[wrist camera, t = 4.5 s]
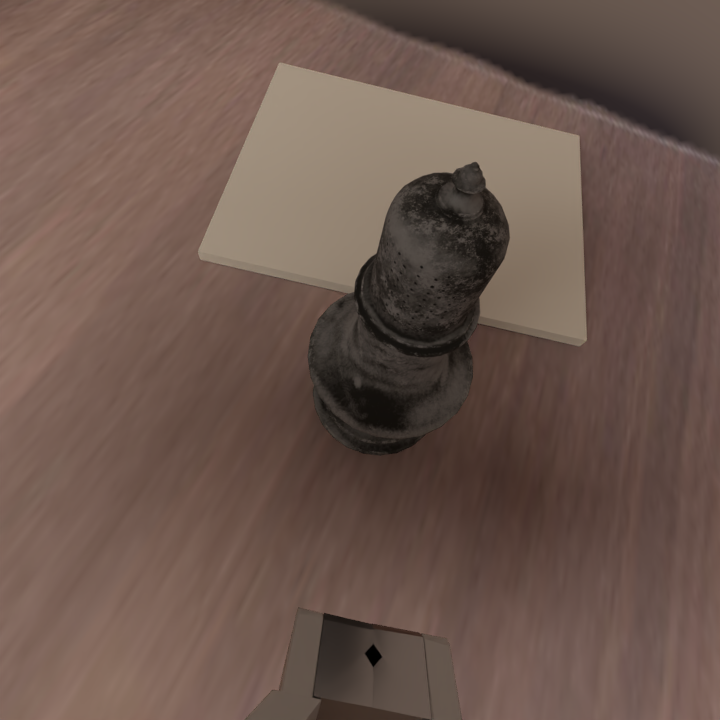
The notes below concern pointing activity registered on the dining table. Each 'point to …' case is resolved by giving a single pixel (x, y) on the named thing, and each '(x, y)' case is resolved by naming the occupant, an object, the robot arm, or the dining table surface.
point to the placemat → (386, 178)
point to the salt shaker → (410, 316)
